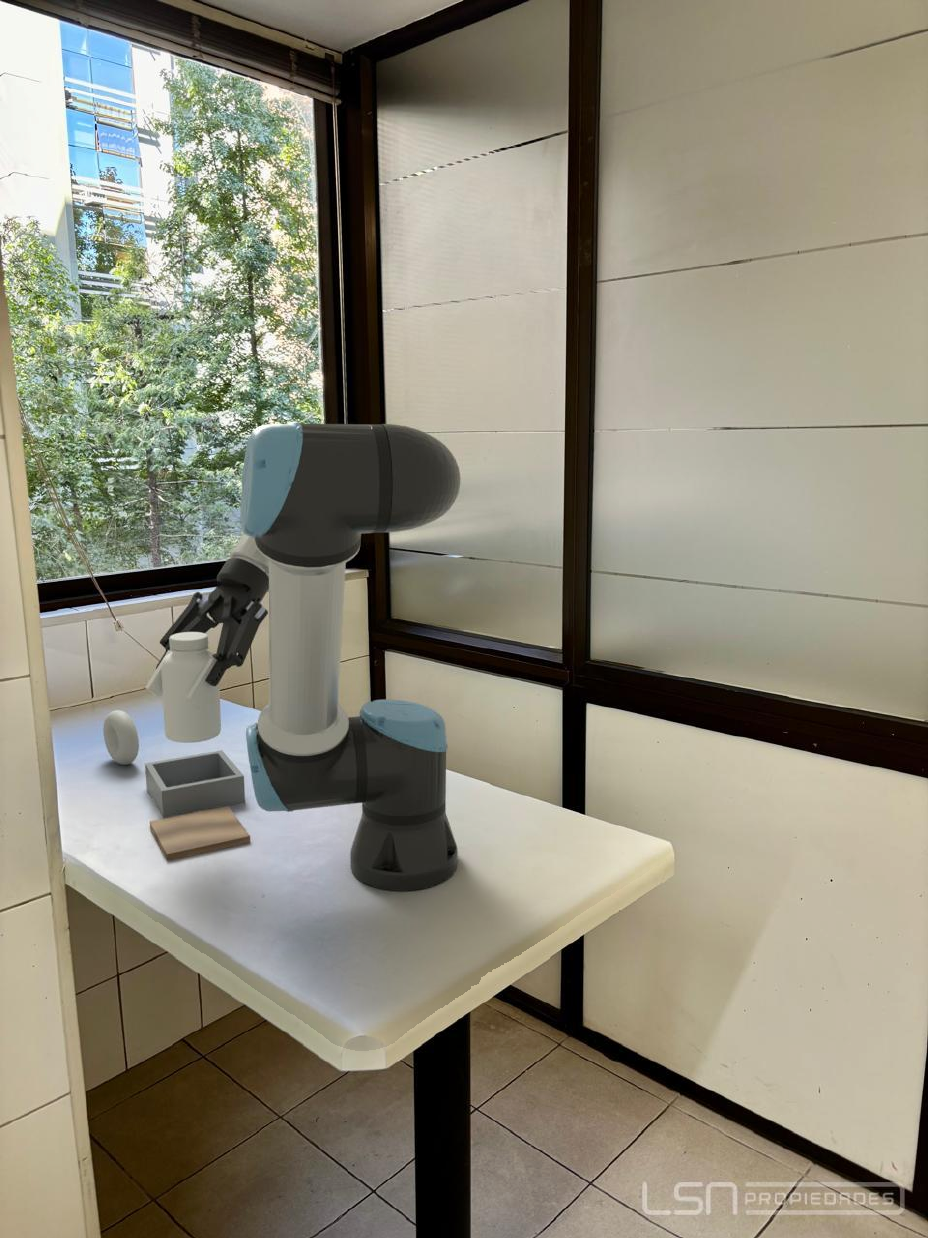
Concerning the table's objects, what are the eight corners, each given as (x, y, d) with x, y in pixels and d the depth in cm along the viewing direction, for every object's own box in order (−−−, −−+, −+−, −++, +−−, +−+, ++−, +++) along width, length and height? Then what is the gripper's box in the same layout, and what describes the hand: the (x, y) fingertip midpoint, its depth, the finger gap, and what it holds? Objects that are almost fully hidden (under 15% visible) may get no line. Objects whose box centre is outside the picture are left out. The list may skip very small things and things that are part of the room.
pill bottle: (213, 744, 129) (207, 642, 126) (157, 744, 129) (150, 641, 126) (228, 726, 137) (223, 629, 134) (175, 725, 137) (169, 629, 134)
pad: (250, 842, 134) (250, 836, 134) (167, 860, 128) (166, 854, 128) (228, 811, 144) (227, 805, 144) (150, 827, 139) (149, 821, 138)
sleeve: (245, 801, 148) (243, 775, 147) (163, 818, 142) (161, 791, 141) (223, 774, 159) (222, 750, 158) (146, 788, 153) (144, 763, 152)
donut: (102, 758, 166) (98, 706, 164) (120, 753, 168) (116, 702, 166) (125, 774, 159) (121, 720, 157) (144, 769, 161) (140, 715, 159)
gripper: (314, 592, 136) (239, 723, 126) (216, 578, 147) (141, 698, 137) (288, 561, 131) (208, 696, 121) (189, 549, 141) (108, 672, 131)
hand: (172, 697), depth 129 cm, fingers closed on pill bottle, 8 cm apart
